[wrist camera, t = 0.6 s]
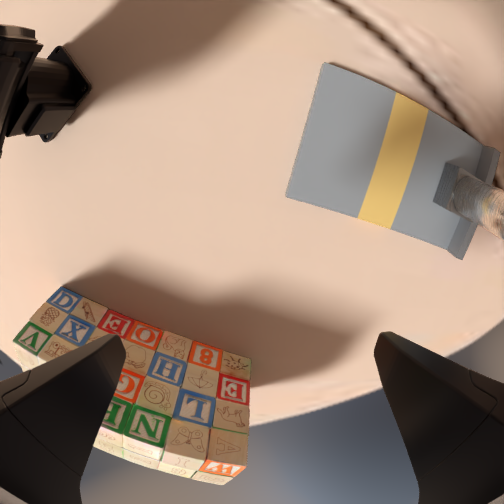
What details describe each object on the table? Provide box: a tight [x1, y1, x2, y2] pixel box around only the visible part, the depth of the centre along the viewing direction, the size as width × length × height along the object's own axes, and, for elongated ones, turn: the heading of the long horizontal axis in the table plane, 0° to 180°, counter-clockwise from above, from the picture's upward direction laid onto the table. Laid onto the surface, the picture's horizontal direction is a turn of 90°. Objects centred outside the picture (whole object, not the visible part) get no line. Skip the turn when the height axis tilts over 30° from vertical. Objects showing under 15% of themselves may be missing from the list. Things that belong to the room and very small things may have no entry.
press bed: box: [285, 62, 500, 260], centre depth 17 cm, size 16×10×2 cm, turn 76°
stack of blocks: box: [13, 286, 251, 485], centre depth 21 cm, size 21×6×12 cm, turn 69°
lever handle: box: [433, 162, 504, 241], centre depth 13 cm, size 3×3×11 cm
